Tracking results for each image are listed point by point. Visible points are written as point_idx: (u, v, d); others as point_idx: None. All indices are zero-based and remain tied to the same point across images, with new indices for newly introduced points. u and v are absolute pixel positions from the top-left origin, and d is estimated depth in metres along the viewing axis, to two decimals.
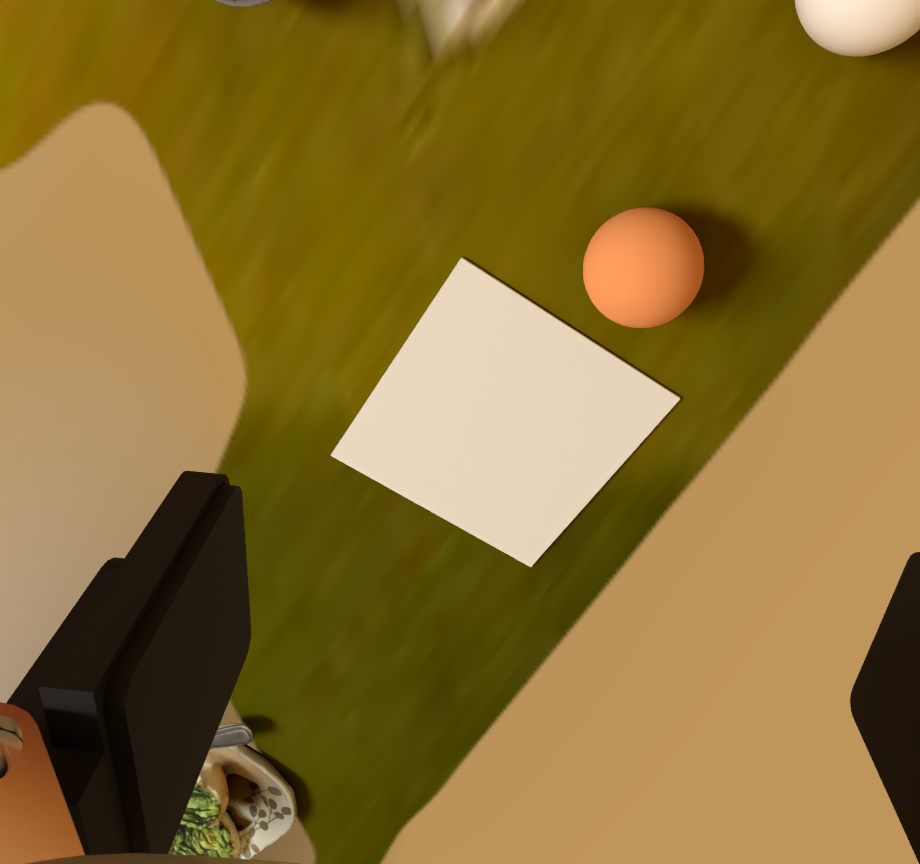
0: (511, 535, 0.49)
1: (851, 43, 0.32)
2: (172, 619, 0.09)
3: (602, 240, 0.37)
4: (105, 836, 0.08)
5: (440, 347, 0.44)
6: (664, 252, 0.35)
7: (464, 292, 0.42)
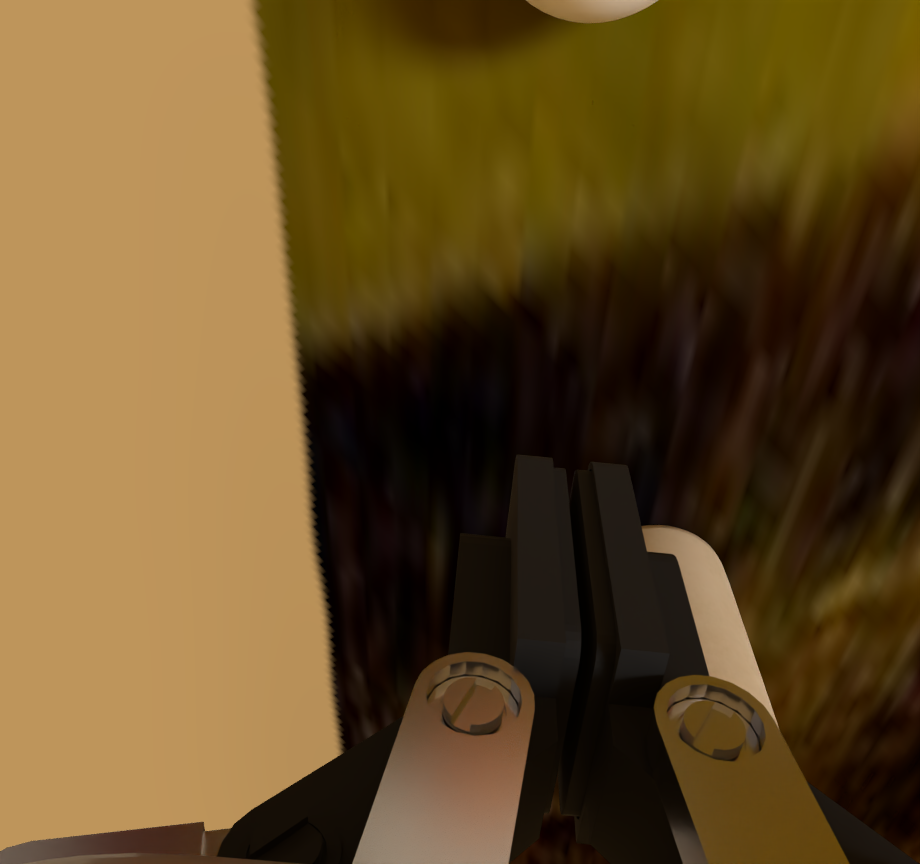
0: None
1: None
2: None
3: None
4: None
5: None
6: None
7: None
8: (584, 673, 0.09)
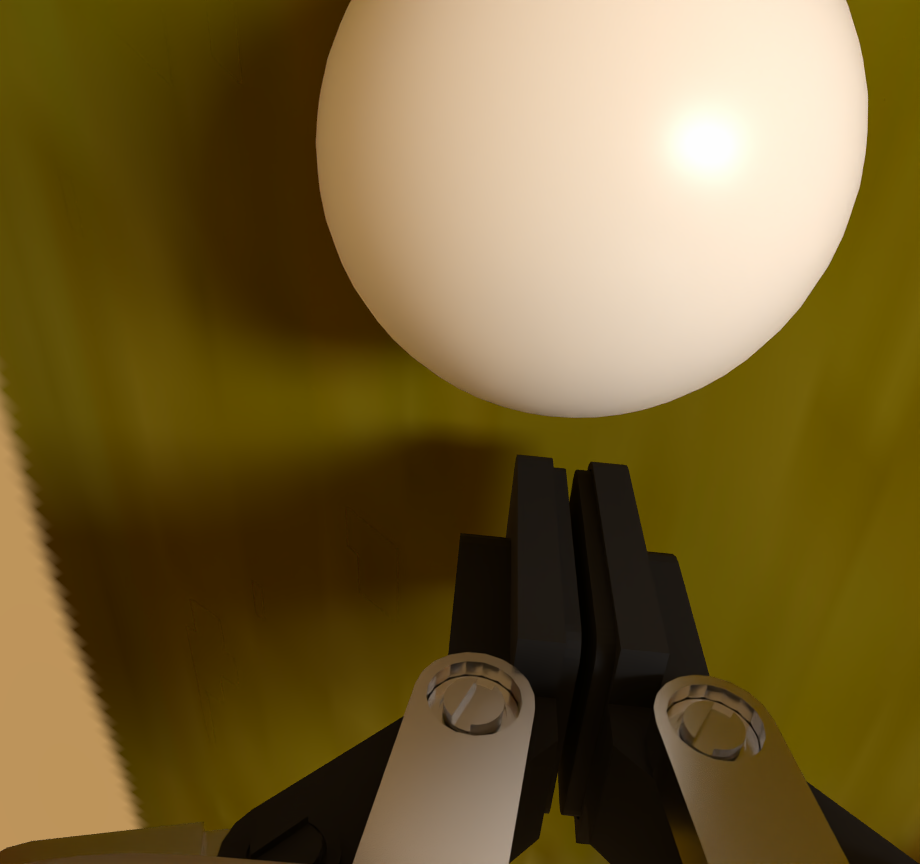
0: None
1: None
2: None
3: None
4: None
5: None
6: None
7: None
8: (584, 673, 0.09)
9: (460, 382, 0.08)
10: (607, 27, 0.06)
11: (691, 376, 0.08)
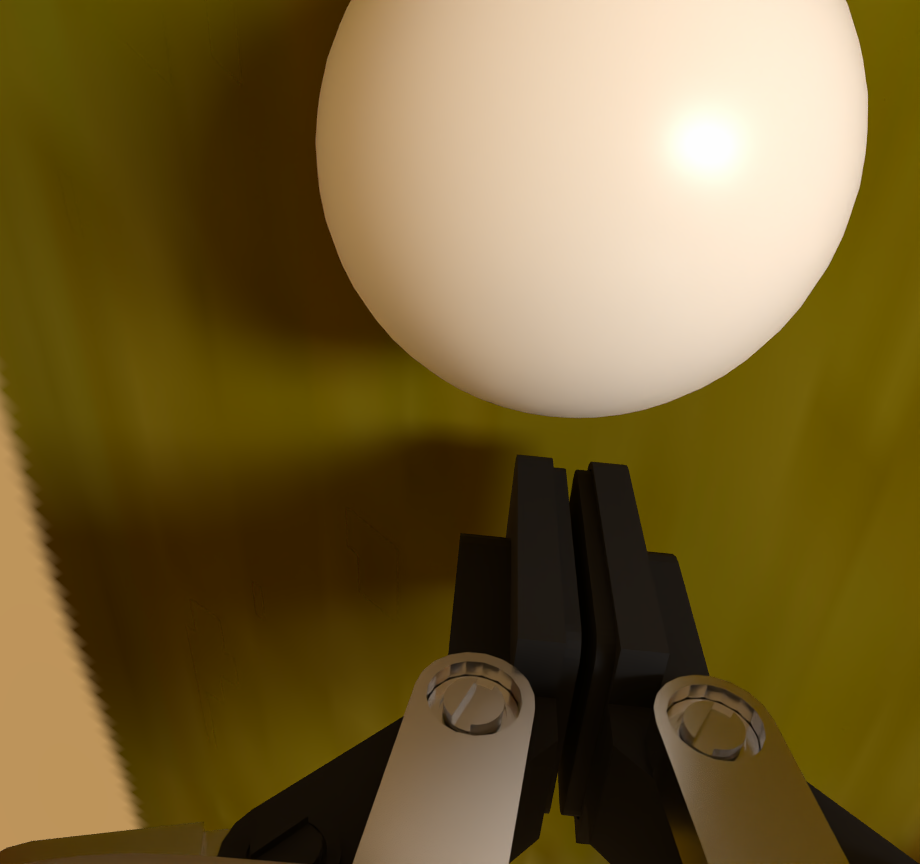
0: None
1: None
2: None
3: None
4: None
5: None
6: None
7: None
8: (584, 673, 0.09)
9: (460, 382, 0.08)
10: (607, 27, 0.06)
11: (691, 376, 0.08)
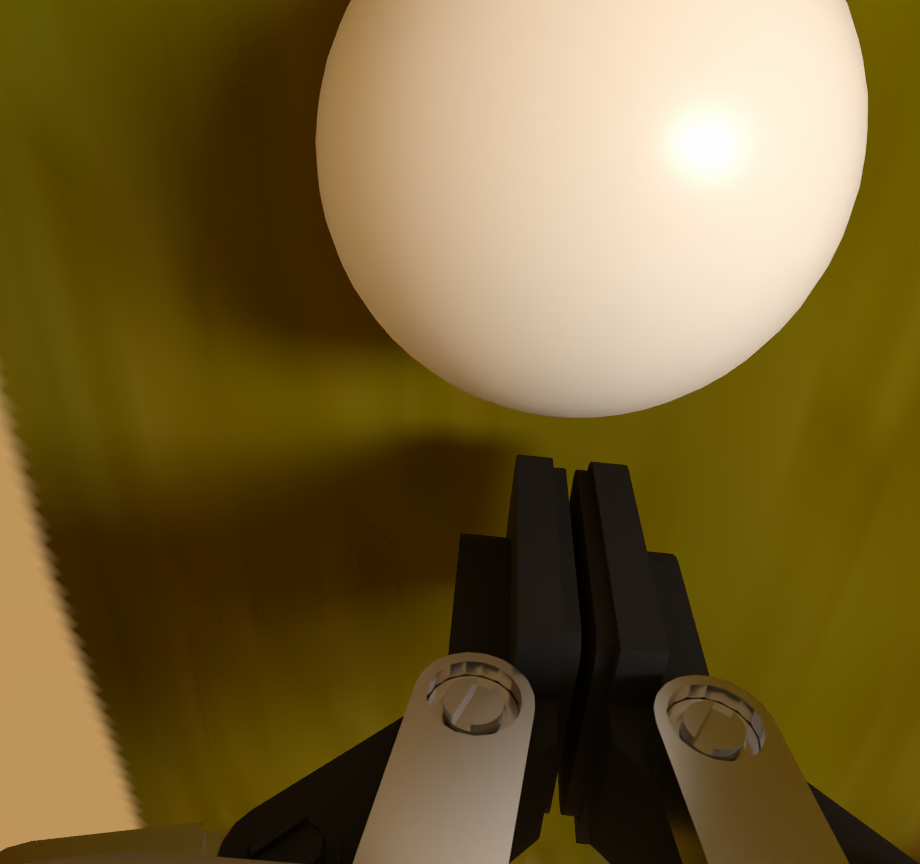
0: None
1: None
2: None
3: None
4: None
5: None
6: None
7: None
8: (584, 673, 0.09)
9: (460, 382, 0.08)
10: (607, 27, 0.06)
11: (691, 376, 0.08)
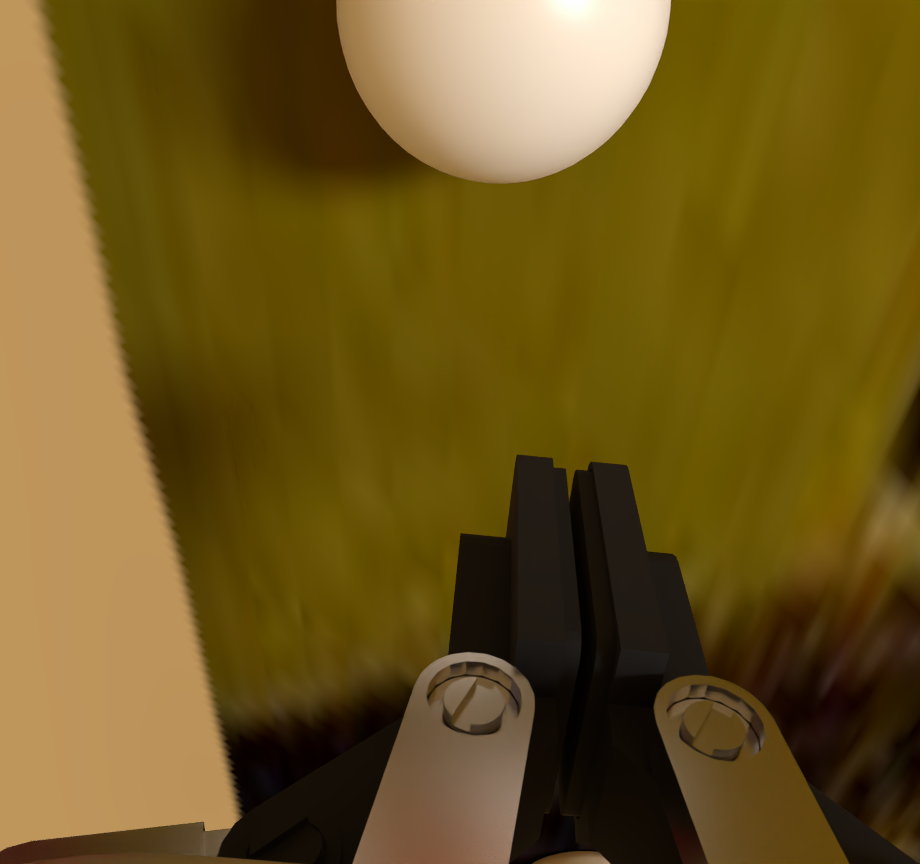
0: None
1: None
2: None
3: None
4: None
5: None
6: None
7: None
8: (584, 673, 0.09)
9: (429, 150, 0.13)
10: None
11: (567, 136, 0.13)
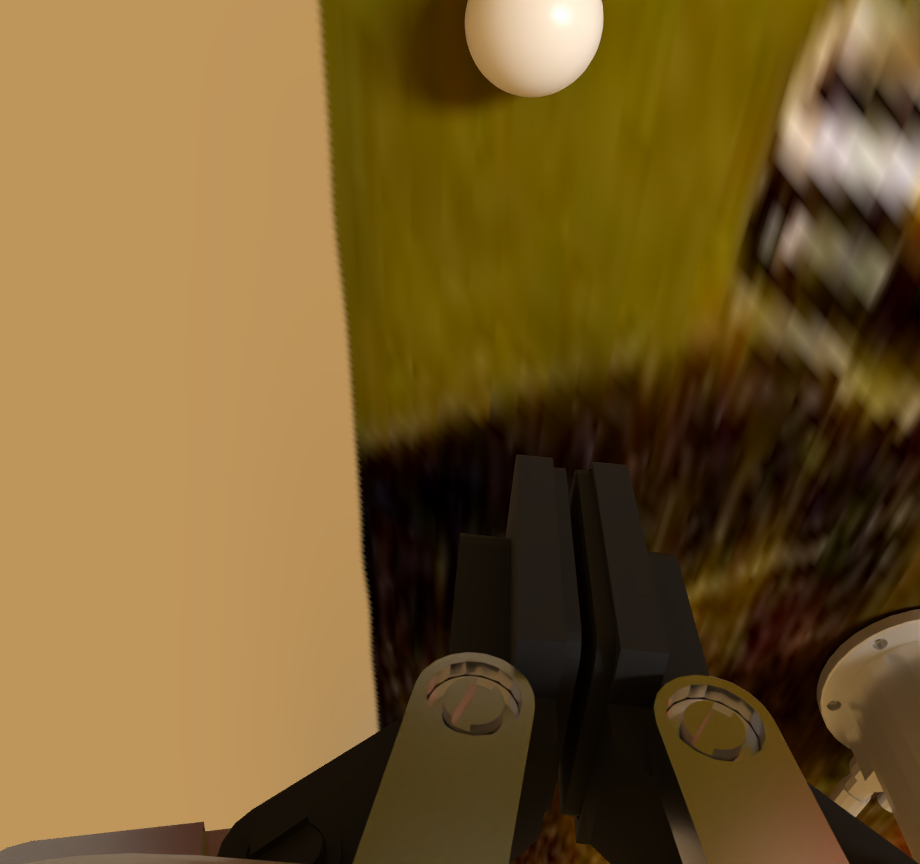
0: None
1: None
2: None
3: None
4: None
5: None
6: None
7: None
8: (584, 673, 0.09)
9: (502, 78, 0.32)
10: None
11: (559, 71, 0.32)
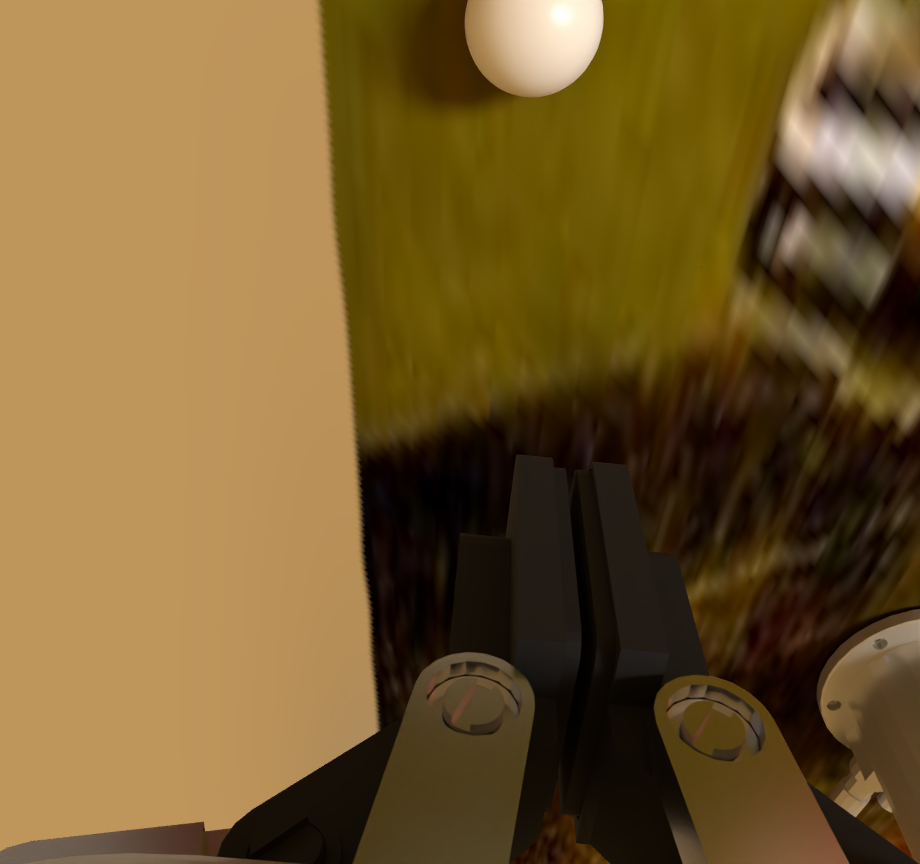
0: None
1: None
2: None
3: None
4: None
5: None
6: None
7: None
8: (584, 673, 0.09)
9: (502, 78, 0.32)
10: None
11: (559, 71, 0.32)
